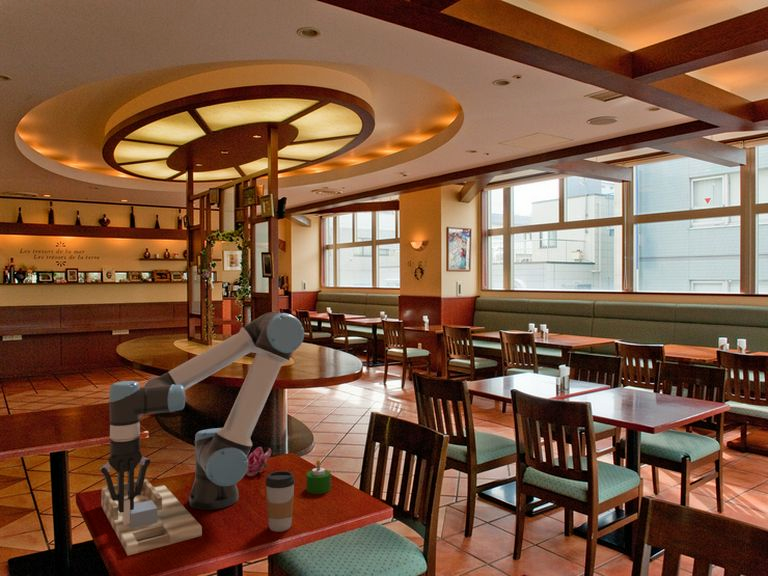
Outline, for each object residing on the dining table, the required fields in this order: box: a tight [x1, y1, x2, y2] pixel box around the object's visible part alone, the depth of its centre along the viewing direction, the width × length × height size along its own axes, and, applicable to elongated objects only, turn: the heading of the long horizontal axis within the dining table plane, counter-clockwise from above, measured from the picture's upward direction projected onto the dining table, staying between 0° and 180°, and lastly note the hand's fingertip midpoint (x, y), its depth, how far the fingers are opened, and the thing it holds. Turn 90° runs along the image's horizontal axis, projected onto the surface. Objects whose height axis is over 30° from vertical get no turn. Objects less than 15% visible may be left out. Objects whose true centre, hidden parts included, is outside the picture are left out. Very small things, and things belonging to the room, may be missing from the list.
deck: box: [100, 477, 203, 556], centre depth 162 cm, size 39×19×6 cm, turn 36°
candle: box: [305, 459, 332, 495], centre depth 187 cm, size 8×8×10 cm
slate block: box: [129, 500, 158, 528], centre depth 156 cm, size 7×7×4 cm
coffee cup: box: [265, 470, 296, 533], centre depth 158 cm, size 8×8×15 cm
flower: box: [245, 446, 272, 477], centre depth 204 cm, size 11×10×10 cm
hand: (126, 522), depth 152 cm, fingers closed
